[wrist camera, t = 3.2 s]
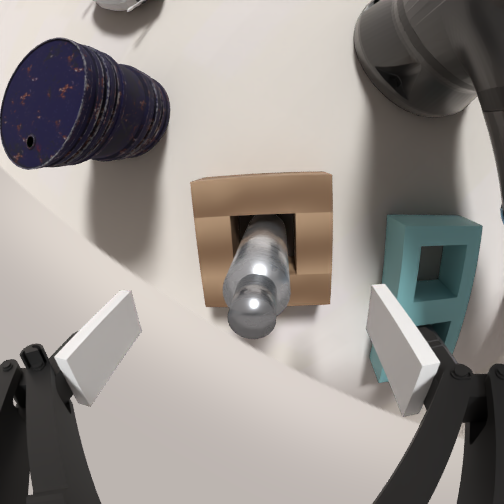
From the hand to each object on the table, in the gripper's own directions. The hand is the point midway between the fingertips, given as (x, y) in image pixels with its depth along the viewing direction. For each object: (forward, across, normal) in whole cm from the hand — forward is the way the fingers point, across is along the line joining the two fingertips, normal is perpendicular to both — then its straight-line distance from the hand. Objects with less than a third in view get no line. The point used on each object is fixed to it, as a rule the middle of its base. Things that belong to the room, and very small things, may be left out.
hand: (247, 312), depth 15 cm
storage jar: (+16, -14, +14) cm, 26 cm away
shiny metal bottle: (+16, 0, 0) cm, 16 cm away
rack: (+16, +18, -8) cm, 26 cm away
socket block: (+16, 0, 0) cm, 16 cm away
